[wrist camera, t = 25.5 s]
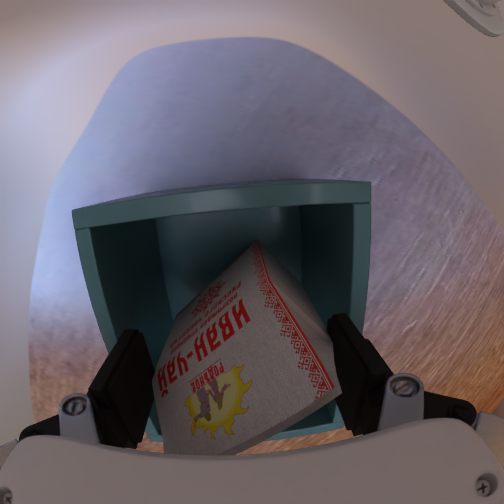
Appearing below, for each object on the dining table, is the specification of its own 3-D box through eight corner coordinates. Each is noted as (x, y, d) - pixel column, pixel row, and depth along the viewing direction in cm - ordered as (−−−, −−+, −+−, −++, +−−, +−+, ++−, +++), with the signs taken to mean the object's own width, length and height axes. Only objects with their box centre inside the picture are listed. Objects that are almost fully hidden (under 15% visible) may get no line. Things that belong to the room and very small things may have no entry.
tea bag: (300, 283, 16) (371, 414, 6) (219, 351, 17) (211, 491, 7) (257, 238, 15) (292, 353, 5) (176, 315, 16) (126, 454, 6)
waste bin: (145, 193, 18) (70, 210, 9) (306, 178, 19) (371, 181, 9) (175, 353, 22) (150, 441, 12) (308, 342, 22) (343, 428, 13)
